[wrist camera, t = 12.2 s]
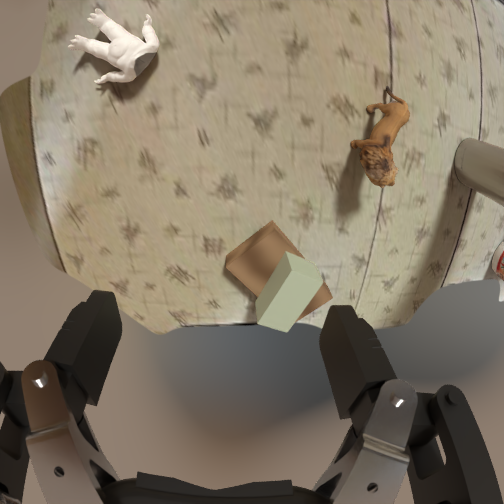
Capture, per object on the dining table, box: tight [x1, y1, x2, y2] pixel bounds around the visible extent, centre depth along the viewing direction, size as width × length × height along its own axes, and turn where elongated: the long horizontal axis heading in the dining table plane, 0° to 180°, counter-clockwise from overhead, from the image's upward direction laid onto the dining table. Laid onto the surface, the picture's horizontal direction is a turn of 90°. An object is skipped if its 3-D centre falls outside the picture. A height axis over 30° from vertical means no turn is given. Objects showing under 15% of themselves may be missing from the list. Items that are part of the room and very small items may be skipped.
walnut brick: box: [226, 220, 333, 322], centre depth 44 cm, size 9×16×4 cm, turn 40°
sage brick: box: [255, 251, 323, 332], centre depth 40 cm, size 5×10×5 cm, turn 155°
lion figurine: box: [351, 86, 410, 188], centre depth 30 cm, size 15×5×9 cm, turn 164°
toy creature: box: [68, 9, 159, 84], centre depth 24 cm, size 12×6×12 cm
